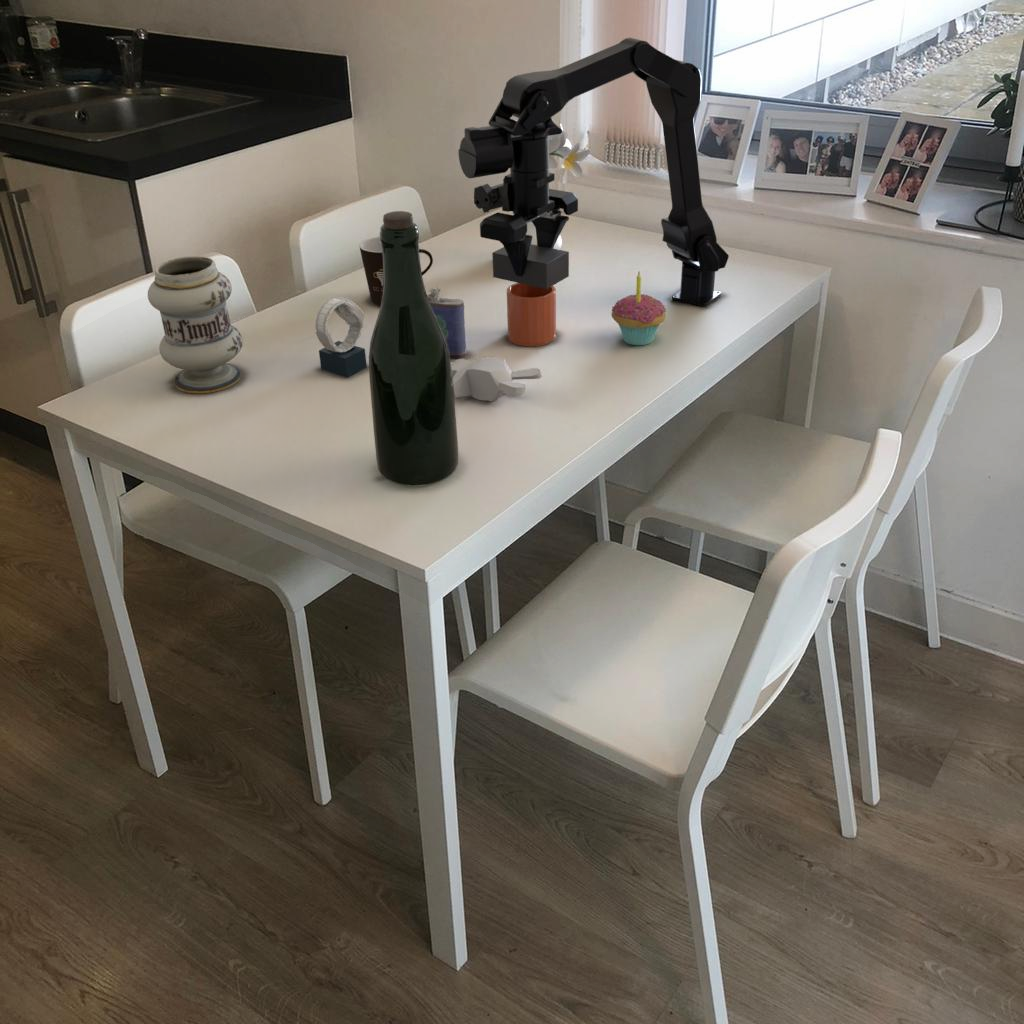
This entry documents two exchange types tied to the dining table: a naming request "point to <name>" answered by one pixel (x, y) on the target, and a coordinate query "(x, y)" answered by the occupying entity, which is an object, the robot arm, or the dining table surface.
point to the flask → (450, 321)
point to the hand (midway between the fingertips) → (531, 269)
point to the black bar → (534, 267)
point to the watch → (340, 354)
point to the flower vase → (562, 149)
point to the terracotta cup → (531, 314)
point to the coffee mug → (378, 267)
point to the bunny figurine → (489, 378)
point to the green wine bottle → (410, 368)
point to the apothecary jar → (196, 323)
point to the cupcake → (638, 316)
